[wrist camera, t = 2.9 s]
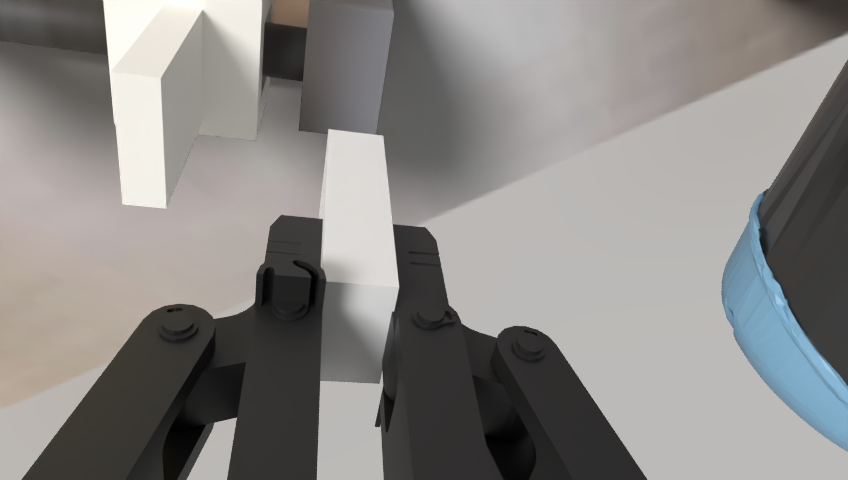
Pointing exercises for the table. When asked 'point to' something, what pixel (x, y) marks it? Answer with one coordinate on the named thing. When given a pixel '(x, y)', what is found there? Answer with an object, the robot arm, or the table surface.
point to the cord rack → (282, 50)
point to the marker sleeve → (181, 83)
